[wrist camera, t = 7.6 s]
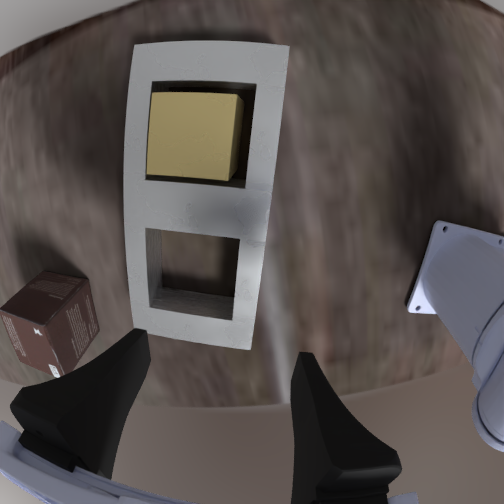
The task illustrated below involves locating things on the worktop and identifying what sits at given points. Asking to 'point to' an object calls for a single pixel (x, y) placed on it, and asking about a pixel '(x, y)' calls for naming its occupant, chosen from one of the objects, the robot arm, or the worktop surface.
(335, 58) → the worktop surface
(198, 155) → the pale yellow wooden cube
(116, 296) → the worktop surface
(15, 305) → the box
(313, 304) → the worktop surface
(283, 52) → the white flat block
